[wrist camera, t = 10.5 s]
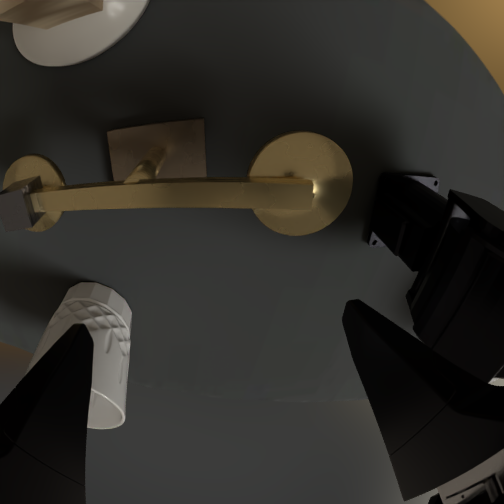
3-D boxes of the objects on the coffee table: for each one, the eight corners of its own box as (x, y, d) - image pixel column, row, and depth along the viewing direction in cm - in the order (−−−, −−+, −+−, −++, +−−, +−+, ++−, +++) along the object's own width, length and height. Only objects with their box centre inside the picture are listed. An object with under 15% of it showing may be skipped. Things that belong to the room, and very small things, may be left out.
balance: (298, 113, 17) (373, 142, 9) (295, 176, 19) (356, 245, 12) (37, 144, 15) (-48, 195, 7) (49, 200, 17) (-18, 275, 9)
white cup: (55, 267, 20) (8, 360, 12) (141, 284, 22) (121, 391, 14) (65, 329, 24) (39, 414, 16) (137, 344, 26) (127, 436, 18)
